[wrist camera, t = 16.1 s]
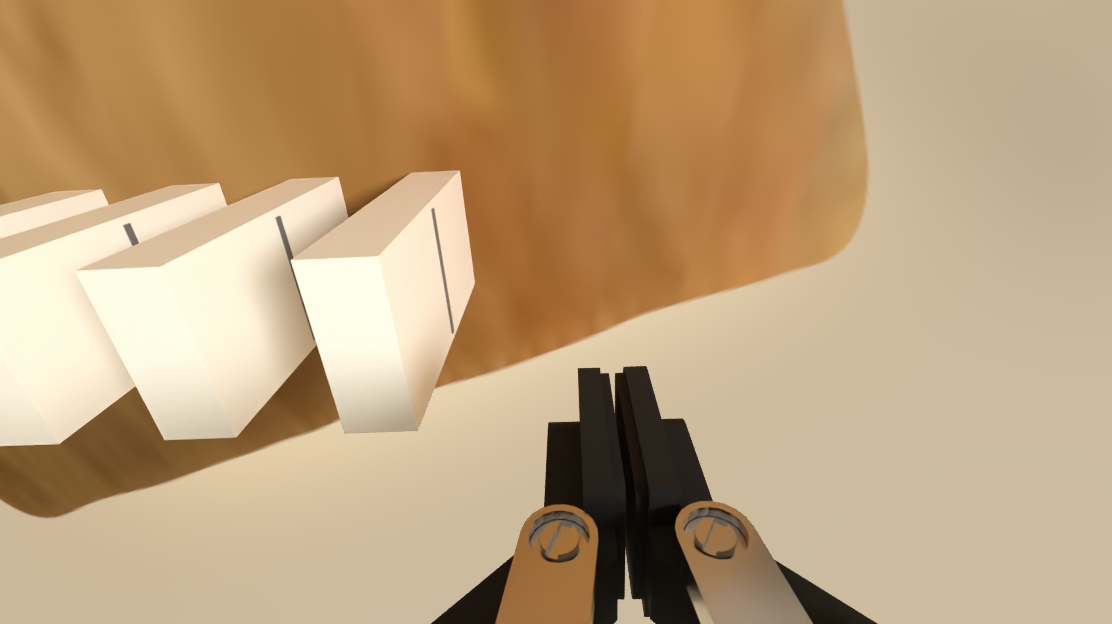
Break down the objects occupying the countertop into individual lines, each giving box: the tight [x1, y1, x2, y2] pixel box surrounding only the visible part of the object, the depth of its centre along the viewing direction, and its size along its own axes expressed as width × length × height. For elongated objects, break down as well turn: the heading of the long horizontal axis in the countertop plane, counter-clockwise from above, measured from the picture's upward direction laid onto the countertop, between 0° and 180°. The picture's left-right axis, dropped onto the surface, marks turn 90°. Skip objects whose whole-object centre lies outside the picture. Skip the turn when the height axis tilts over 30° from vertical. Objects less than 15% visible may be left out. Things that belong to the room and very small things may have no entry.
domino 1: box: [0, 183, 227, 446], centre depth 20 cm, size 2×6×12 cm, turn 3°
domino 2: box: [75, 177, 348, 440], centre depth 20 cm, size 2×6×12 cm, turn 3°
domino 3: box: [291, 170, 475, 433], centre depth 20 cm, size 2×6×12 cm, turn 3°
